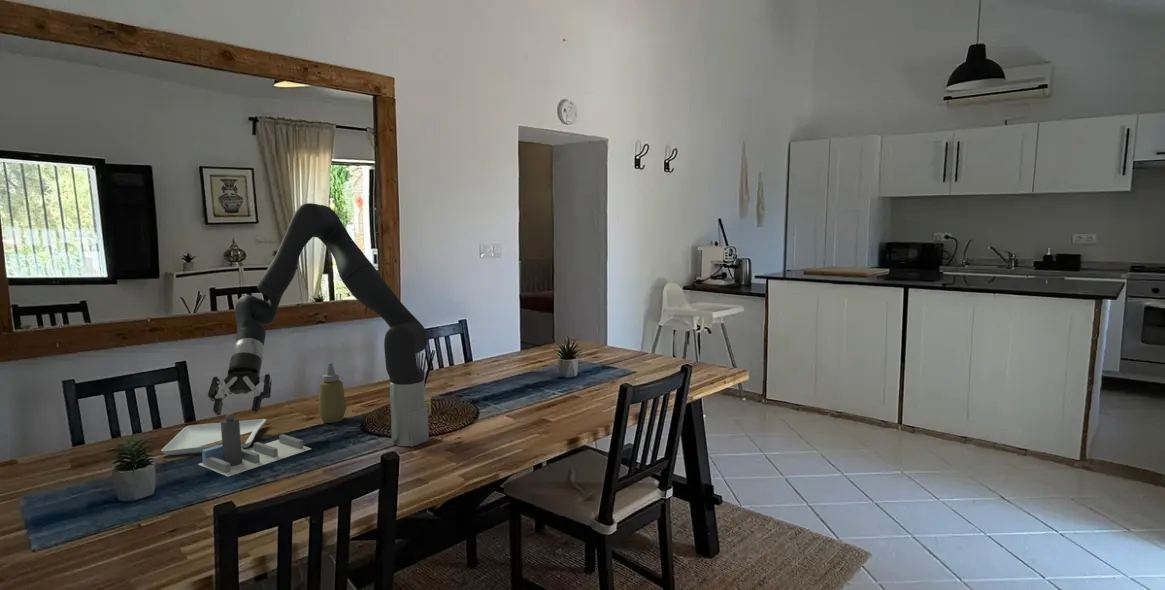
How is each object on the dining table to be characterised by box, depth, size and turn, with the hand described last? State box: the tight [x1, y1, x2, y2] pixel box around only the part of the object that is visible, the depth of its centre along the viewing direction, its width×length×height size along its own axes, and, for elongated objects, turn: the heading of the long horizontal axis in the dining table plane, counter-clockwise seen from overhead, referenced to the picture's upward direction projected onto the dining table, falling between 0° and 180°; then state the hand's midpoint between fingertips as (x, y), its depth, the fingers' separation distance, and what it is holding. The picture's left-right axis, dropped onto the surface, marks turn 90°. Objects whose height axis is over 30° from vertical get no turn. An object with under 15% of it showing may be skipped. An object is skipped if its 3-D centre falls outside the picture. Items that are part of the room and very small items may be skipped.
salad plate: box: [161, 418, 267, 456], centre depth 176 cm, size 21×21×3 cm
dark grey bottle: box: [220, 413, 242, 466], centre depth 158 cm, size 4×4×13 cm
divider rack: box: [197, 433, 312, 477], centre depth 163 cm, size 14×22×4 cm, turn 147°
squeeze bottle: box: [317, 362, 347, 424], centre depth 195 cm, size 8×8×18 cm
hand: (236, 412), depth 161 cm, fingers open, 8 cm apart
